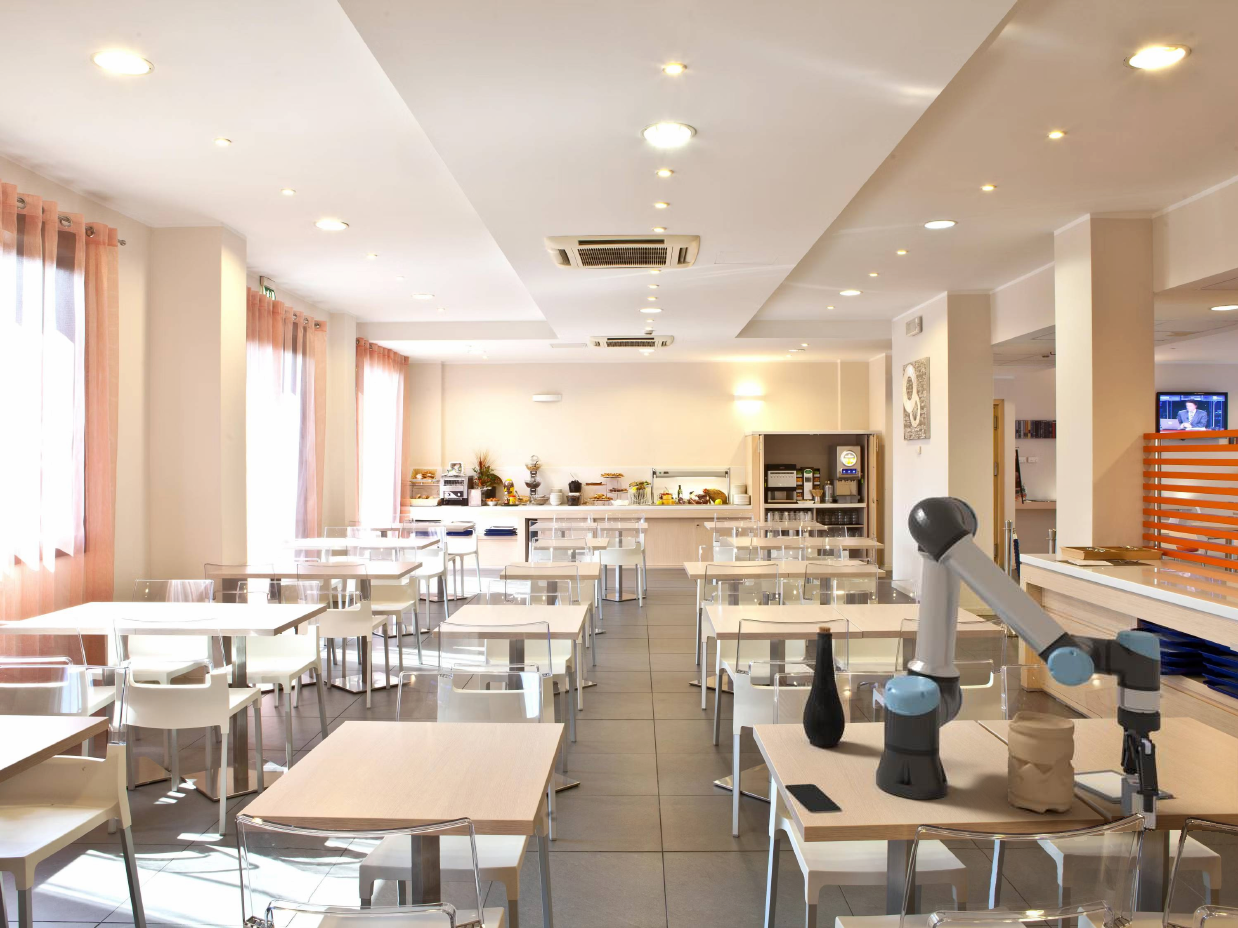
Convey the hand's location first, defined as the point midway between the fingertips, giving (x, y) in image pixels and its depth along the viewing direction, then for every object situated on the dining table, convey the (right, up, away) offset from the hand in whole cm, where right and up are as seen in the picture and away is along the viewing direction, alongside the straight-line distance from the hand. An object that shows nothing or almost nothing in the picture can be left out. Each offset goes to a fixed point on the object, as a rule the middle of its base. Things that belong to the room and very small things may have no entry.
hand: (1139, 816), depth 168 cm
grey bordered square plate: (+5, -1, +17) cm, 18 cm away
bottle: (-53, -1, +45) cm, 70 cm away
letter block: (0, 0, 0) cm, 0 cm away
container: (-17, 0, +6) cm, 18 cm away
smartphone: (-65, 0, +8) cm, 66 cm away
